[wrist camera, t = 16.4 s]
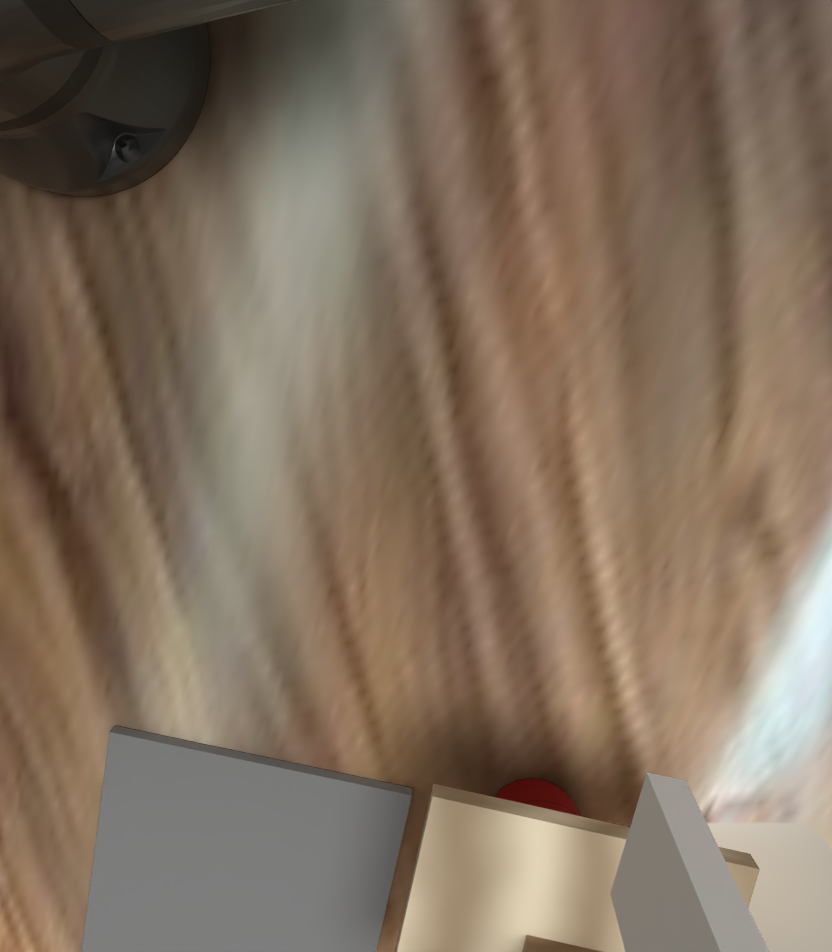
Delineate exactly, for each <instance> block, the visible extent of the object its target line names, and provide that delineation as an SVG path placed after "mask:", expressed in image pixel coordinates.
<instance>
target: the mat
mask: <svg viewBox="0 0 832 952" xmlns="http://www.w3.org/2000/svg"><path fill="white" fill-rule="evenodd" d="M412 790H413V788H410V787H405V786H400V785H396V784H391V783H386V782H381V781H377V780H372V779H367V778H362V777H358V776H353V775H348V774H343V773H338V772H334V771H329V770H324V769H319V768H315V767H310V766H305V765H300V764H296V763H291V762H286V761H281V760H277V759H272V758H267V757H262V756H258V755H253V754H248V753H243V752H238V751H234V750H229V749H224V748H219V747H215V746H210V745H205V744H200V743H196V742H191V741H186V740H181V739H177V738H172V737H167V736H162V735H158V734H153V733H148V732H143V731H138V730H134V729H129V728H124V727H119V726H114V728H113V729H112V730H111V731H110V736H109V744H108V751H107V759H106V767H105V775H104V782H103V790H102V798H101V805H100V813H99V821H98V829H97V836H96V844H95V852H94V860H93V867H92V875H91V883H90V891H89V898H88V906H87V914H86V921H85V929H84V937H83V945H82V952H376V950H377V946H378V942H379V937H380V933H381V929H382V924H383V920H384V916H385V911H386V907H387V902H388V898H389V894H390V889H391V885H392V881H393V876H394V872H395V868H396V863H397V859H398V854H399V850H400V846H401V841H402V837H403V833H404V828H405V824H406V820H407V815H408V811H409V806H410V802H411V798H412Z"/></svg>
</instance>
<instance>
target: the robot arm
mask: <svg viewBox="0 0 832 952" xmlns="http://www.w3.org/2000/svg"><path fill="white" fill-rule="evenodd" d="M293 1H298V0H0V173H2V174H3V175H5V176H7V177H9V178H11V179H13V180H16V181H18V182H21V183H23V184H26V185H29V186H32V187H36V188H39V189H43V190H46V191H50V192H54V193H58V194H63V195H70V196H99V195H106V194H111V193H115V192H118V191H122V190H125V189H127V188H130V187H132V186H134V185H137V184H138V183H140V182H142V181H144V180H146V179H147V178H149V177H150V176H152V175H153V174H155V173H156V172H157V171H159V170H160V169H161V168H162V167H163V166H165V165H166V164H167V163H168V162H169V161H170V160H171V159H172V158H173V157H174V156H175V154H176V153H177V152H178V151H179V149H180V148H181V147H182V145H183V144H184V143H185V141H186V140H187V138H188V136H189V135H190V133H191V131H192V129H193V127H194V125H195V123H196V121H197V119H198V116H199V114H200V112H201V109H202V105H203V102H204V99H205V95H206V91H207V85H208V79H209V69H210V44H209V35H208V29H207V23H206V22H210V21H214V20H218V19H223V18H227V17H231V16H235V15H239V14H243V13H248V12H252V11H256V10H260V9H264V8H268V7H273V6H277V5H281V4H285V3H289V2H293ZM610 895H611V899H612V903H613V906H614V910H615V914H616V918H617V922H618V925H619V929H620V933H621V937H622V940H623V944H624V948H625V952H769V950H768V948H767V946H766V944H765V942H764V940H763V938H762V935H761V933H760V932H759V929H758V927H757V925H756V923H755V921H754V919H753V917H752V915H751V913H750V911H749V909H748V907H747V905H746V903H745V901H744V898H743V896H742V894H741V892H740V890H739V888H738V886H737V884H736V882H735V880H734V878H733V876H732V874H731V872H730V870H729V868H728V866H727V864H726V862H725V859H724V857H723V855H722V853H721V851H720V849H719V847H718V845H717V843H716V841H715V839H714V837H713V835H712V833H711V831H710V829H709V827H708V825H707V823H706V820H705V818H704V816H703V814H702V812H701V810H700V808H699V806H698V804H697V802H696V800H695V798H694V796H693V794H692V792H691V790H690V788H689V786H688V783H687V781H685V780H680V779H676V778H671V777H666V776H661V775H657V774H652V773H646V777H645V780H644V783H643V787H642V790H641V793H640V797H639V800H638V803H637V807H636V810H635V813H634V816H633V820H632V823H631V826H630V830H629V833H628V836H627V840H626V843H625V846H624V850H623V853H622V856H621V859H620V863H619V866H618V869H617V873H616V876H615V879H614V883H613V886H612V889H611V893H610Z"/></svg>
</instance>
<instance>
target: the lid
mask: <svg viewBox="0 0 832 952" xmlns="http://www.w3.org/2000/svg"><path fill="white" fill-rule="evenodd" d="M629 830H630V827H626V826H622V825H617V824H613V823H608V822H604V821H599V820H595V819H590V818H586V817H581V816H577V815H572V814H568V813H563V812H559V811H554V810H550V809H545V808H541V807H536V806H532V805H527V804H523V803H518V802H514V801H509V800H505V799H500V798H496V797H491V796H487V795H482V794H478V793H473V792H469V791H464V790H460V789H455V788H451V787H446V786H442V785H437V784H433V786H432V791H431V795H430V800H429V804H428V808H427V813H426V817H425V822H424V826H423V830H422V835H421V839H420V843H419V848H418V852H417V857H416V861H415V865H414V870H413V874H412V879H411V883H410V887H409V892H408V896H407V900H406V905H405V909H404V914H403V918H402V922H401V927H400V931H399V936H398V940H397V944H396V949H395V952H625V948H624V944H623V940H622V937H621V933H620V929H619V925H618V922H617V918H616V914H615V910H614V906H613V903H612V899H611V895H610V893H611V889H612V886H613V883H614V879H615V876H616V873H617V869H618V866H619V863H620V859H621V856H622V853H623V850H624V846H625V843H626V840H627V836H628V833H629ZM719 849H720V851H721V853H722V855H723V857H724V859H725V862H726V864H727V866H728V868H729V870H730V872H731V874H732V876H733V878H734V880H735V882H736V884H737V886H738V888H739V890H740V892H741V894H742V896H743V898H744V901H745V903H746V905H747V907H749V903H750V900H751V896H752V893H753V890H754V886H755V883H756V880H757V876H758V873H759V867H758V866H757V864H756V863H755V861H754V859H753V858H752V856H751V854H748V853H743V852H739V851H734V850H730V849H725V848H721V847H719Z"/></svg>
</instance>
